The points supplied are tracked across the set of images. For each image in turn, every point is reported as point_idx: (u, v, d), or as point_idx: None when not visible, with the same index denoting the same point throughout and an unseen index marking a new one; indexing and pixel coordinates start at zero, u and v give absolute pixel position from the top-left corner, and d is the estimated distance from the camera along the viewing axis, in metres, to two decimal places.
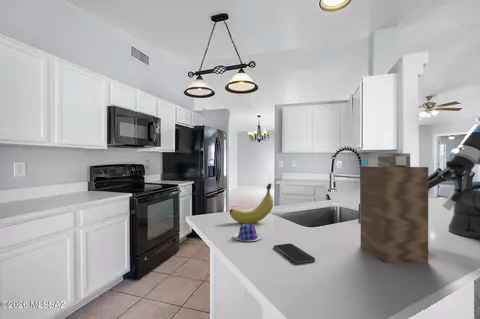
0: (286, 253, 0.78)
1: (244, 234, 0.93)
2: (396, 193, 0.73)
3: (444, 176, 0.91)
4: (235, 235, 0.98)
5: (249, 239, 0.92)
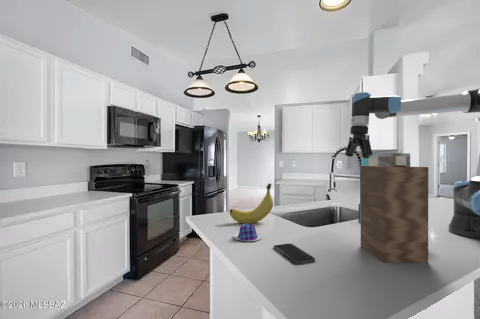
0: (286, 253, 0.78)
1: (244, 234, 0.93)
2: (396, 193, 0.73)
3: (354, 144, 1.13)
4: (235, 235, 0.98)
5: (249, 239, 0.92)
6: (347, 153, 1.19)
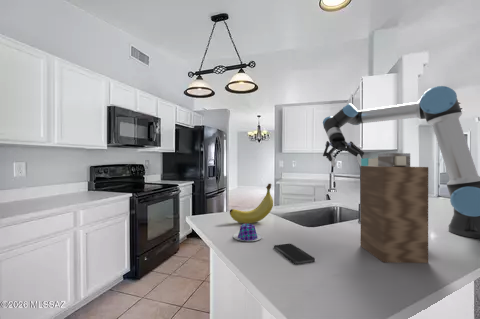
0: (286, 253, 0.78)
1: (244, 234, 0.93)
2: (396, 193, 0.73)
3: None
4: (235, 235, 0.98)
5: (249, 239, 0.92)
6: None
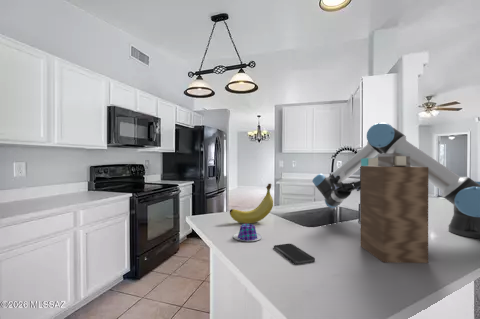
0: (286, 253, 0.78)
1: (243, 234, 0.93)
2: (396, 193, 0.73)
3: (350, 187, 1.13)
4: (235, 235, 0.98)
5: (248, 239, 0.92)
6: None
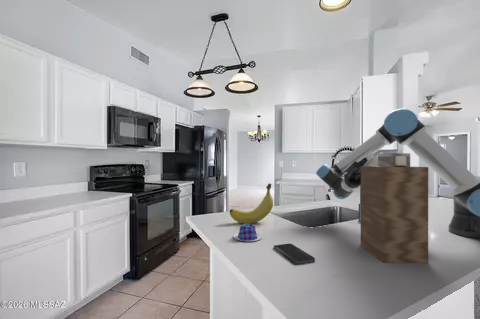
0: (286, 253, 0.78)
1: (243, 234, 0.93)
2: (396, 193, 0.73)
3: None
4: (236, 234, 0.99)
5: (247, 239, 0.92)
6: None
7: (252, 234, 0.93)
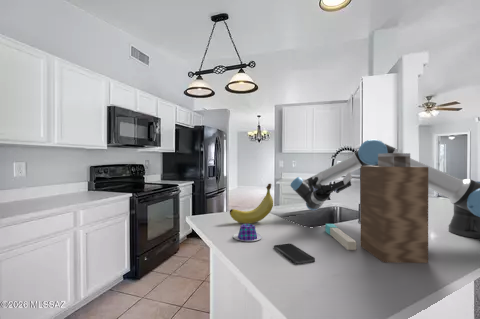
0: (286, 253, 0.78)
1: (242, 234, 0.94)
2: (396, 193, 0.73)
3: (329, 189, 1.09)
4: (237, 234, 0.99)
5: (246, 239, 0.92)
6: (345, 185, 1.04)
7: (251, 234, 0.93)
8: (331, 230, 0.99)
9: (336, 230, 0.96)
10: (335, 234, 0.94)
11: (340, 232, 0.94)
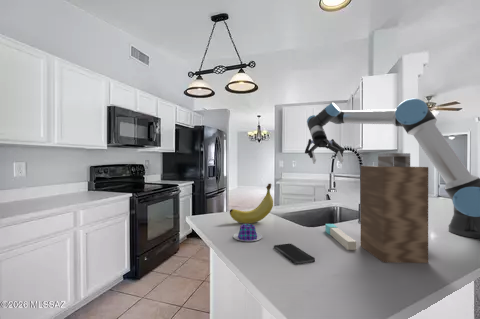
0: (286, 253, 0.78)
1: (241, 233, 0.94)
2: (396, 193, 0.73)
3: None
4: (237, 234, 0.99)
5: (245, 239, 0.92)
6: (338, 152, 1.24)
7: (250, 234, 0.93)
8: (331, 230, 0.99)
9: (336, 230, 0.96)
10: (335, 234, 0.94)
11: (340, 232, 0.94)
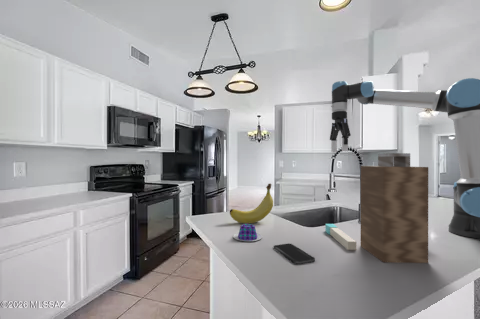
0: (286, 253, 0.78)
1: (241, 233, 0.94)
2: (396, 193, 0.73)
3: (336, 128, 1.25)
4: (238, 234, 1.00)
5: (245, 239, 0.93)
6: (331, 138, 1.31)
7: (250, 234, 0.93)
8: (331, 230, 0.99)
9: (336, 230, 0.96)
10: (335, 234, 0.94)
11: (340, 232, 0.94)
